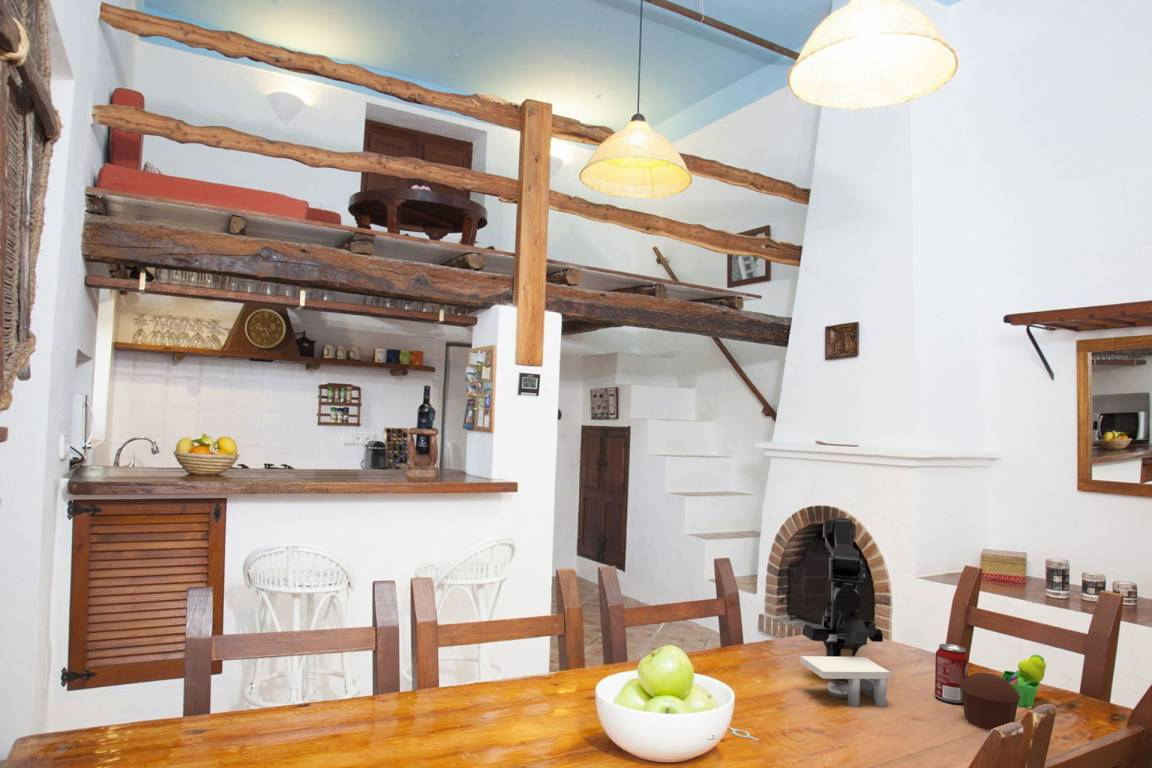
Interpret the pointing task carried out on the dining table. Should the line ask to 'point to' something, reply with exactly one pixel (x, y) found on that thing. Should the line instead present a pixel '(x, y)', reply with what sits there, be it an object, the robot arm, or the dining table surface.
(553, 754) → the dining table surface
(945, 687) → the soda can
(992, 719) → the muffin
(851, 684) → the low stand
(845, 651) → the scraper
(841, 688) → the token
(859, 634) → the robot arm
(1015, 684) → the green toy figure
